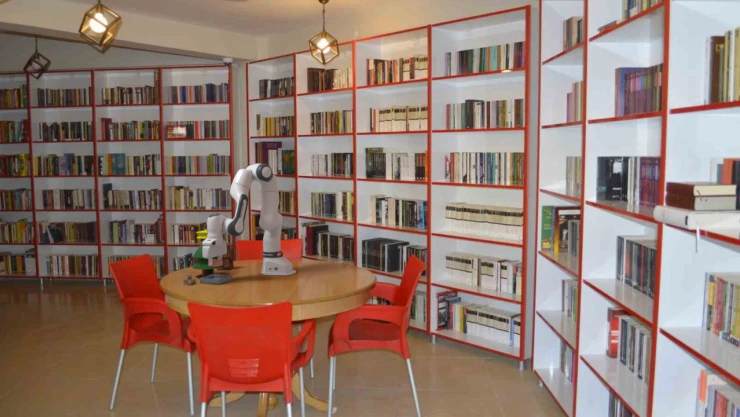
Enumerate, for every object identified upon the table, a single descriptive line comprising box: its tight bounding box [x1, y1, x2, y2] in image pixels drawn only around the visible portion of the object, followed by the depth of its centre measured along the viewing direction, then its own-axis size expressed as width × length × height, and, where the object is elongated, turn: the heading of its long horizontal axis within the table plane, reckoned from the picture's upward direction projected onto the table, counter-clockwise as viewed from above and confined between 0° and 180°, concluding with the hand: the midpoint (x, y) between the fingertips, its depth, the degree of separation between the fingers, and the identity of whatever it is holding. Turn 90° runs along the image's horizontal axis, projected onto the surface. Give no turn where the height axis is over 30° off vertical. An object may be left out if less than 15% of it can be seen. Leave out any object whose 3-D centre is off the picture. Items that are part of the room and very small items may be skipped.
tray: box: [199, 273, 233, 286], centre depth 364 cm, size 14×14×3 cm
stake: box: [182, 271, 197, 286], centre depth 357 cm, size 5×5×7 cm
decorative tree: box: [191, 228, 223, 278], centre depth 380 cm, size 19×19×30 cm
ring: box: [208, 259, 223, 267], centre depth 363 cm, size 6×6×3 cm
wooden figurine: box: [216, 242, 235, 271], centre depth 403 cm, size 12×6×18 cm, turn 100°
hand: (215, 263), depth 363 cm, fingers closed on ring, 6 cm apart
